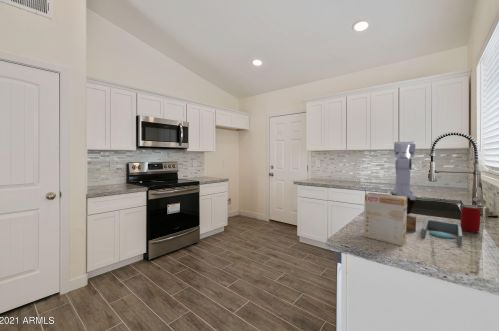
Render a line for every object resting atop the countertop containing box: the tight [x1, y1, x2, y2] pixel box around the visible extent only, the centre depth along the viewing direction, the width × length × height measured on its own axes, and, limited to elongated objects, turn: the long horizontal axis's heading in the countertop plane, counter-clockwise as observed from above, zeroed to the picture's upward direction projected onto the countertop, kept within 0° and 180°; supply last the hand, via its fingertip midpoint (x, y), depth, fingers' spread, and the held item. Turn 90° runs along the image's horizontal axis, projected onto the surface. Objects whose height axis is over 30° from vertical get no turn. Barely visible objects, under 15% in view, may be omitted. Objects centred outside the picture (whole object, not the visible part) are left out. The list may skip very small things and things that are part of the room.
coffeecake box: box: [363, 192, 407, 247], centre depth 101 cm, size 15×7×20 cm, turn 45°
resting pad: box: [429, 230, 456, 240], centre depth 106 cm, size 9×9×1 cm
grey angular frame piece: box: [421, 218, 463, 246], centre depth 106 cm, size 20×13×4 cm, turn 139°
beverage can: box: [460, 204, 482, 234], centre depth 112 cm, size 7×7×12 cm
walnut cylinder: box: [406, 214, 417, 233], centre depth 113 cm, size 4×4×7 cm
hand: (401, 211), depth 111 cm, fingers open, 7 cm apart
